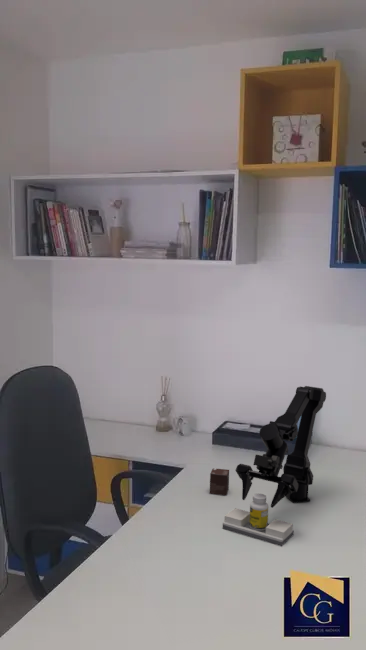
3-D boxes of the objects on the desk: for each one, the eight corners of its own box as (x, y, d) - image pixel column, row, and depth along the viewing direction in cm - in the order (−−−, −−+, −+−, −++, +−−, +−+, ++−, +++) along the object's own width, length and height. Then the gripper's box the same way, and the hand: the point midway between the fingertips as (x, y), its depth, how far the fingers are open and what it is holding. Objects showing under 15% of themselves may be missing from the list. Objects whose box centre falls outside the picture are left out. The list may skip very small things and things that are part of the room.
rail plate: (222, 528, 182) (223, 516, 182) (236, 518, 190) (236, 507, 190) (281, 546, 172) (282, 533, 172) (293, 534, 180) (294, 522, 180)
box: (226, 496, 208) (227, 475, 207) (209, 494, 209) (209, 473, 208) (228, 489, 214) (229, 469, 213) (211, 487, 215) (212, 467, 214)
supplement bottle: (245, 526, 182) (246, 494, 181) (259, 522, 185) (260, 491, 184) (257, 533, 177) (258, 500, 176) (271, 529, 180) (272, 497, 179)
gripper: (239, 437, 187) (220, 483, 179) (296, 449, 177) (279, 498, 169) (249, 456, 194) (232, 500, 186) (305, 468, 184) (289, 515, 176)
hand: (257, 503), depth 179 cm, fingers open, 9 cm apart
